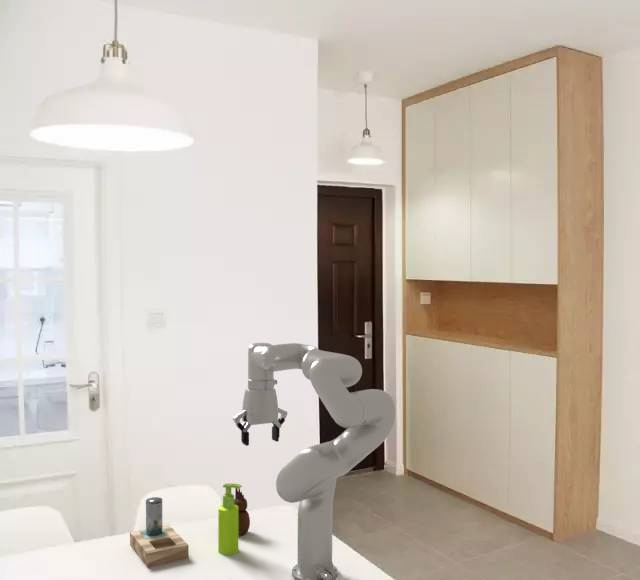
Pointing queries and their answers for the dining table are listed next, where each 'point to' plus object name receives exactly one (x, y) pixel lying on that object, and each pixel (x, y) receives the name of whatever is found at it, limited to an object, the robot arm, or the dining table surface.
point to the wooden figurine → (242, 513)
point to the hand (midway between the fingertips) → (260, 442)
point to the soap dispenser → (228, 523)
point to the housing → (159, 546)
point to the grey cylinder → (154, 516)
